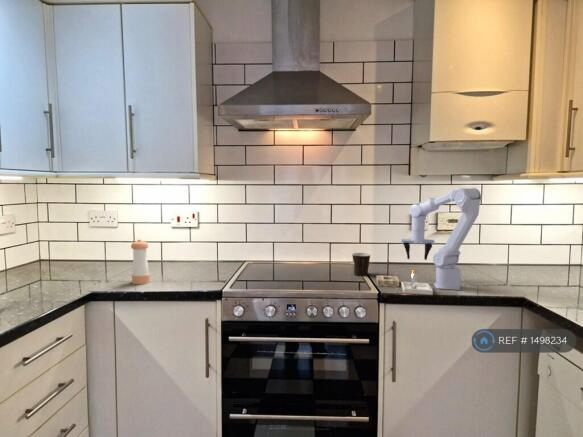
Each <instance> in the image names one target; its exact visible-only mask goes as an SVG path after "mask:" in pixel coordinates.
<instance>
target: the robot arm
mask: <svg viewBox="0 0 583 437" xmlns="http://www.w3.org/2000/svg"><path fill="white" fill-rule="evenodd" d="M482 200H483V197H482V193H481V192H480V190H479V189H478V188H476V187H471V188H466V187H465V188H464V187H457V188H456V189H452V190H451V191H449V192H447V193H444V194H443V195H442V196H439V197H438V198H434V197H428V198H427V200H424V201H420V202H419V204H418V203H417V204H415V203H413V204H412V205H411V206H410V207H409V214H410V216H411V233H410V234H411V238H401V239H400V243H401V245H402V244H403V247H404V249H405V252H406V258H407V260H410V258H411V257H410V250H411V244H413V245H424V260H425V261H427V260H428V256H429V254H430V251H431V250H432V248H433V245H434V246H435V239H426V238H425V232H426V231H425V226H426V220H427V216H428V214H430V213H433V212H436V211H438V210H439V208H440V206H444V205H446V204H448V203H451V202H454V203H455V204H456V206H457V207H458V209H459V210H460V211H461V215H460V217H459V219H458V221H457V222H456V223H455V224H456V225H455V226H454V228H453V230H452V232H451V234H450V235H449V237H448V240H447V241H446V243H445V244H444V245H443V246H442V247H441V246H440V248H439V249H438V251H437V252H435V253H434V254H433V257H432V262H433V264H434V265H435V267H436V268H435V271H436V273H435V282H433V286H434V287H435V288H436V289H437V290H439V289H440V290H455V291H457V290H458V291H460V290H461V275H462V274H461V269H460V267H458V266H456V265H457V264H458V263H459V259H460V258H459V257H460V255H461V251H460V250H459V249H460V247H461V246H462V244H463V242H464V241H465V239H466V237H467V235H468V234H469V232H470V230H471V229H472V227H473V225H474V224H475V221H476V220H477V218H478V216H479V212H480V204H481V202H482Z"/></svg>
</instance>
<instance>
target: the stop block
mask: <svg viewBox="0 0 583 437" xmlns="http://www.w3.org/2000/svg"><path fill="white" fill-rule="evenodd" d="M376 285H377V286H378V287H392V288H393V287H394V288H399V287H400V280H399V278H398V276H395V275H381V274H379V275H376Z"/></svg>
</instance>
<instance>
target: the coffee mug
mask: <svg viewBox="0 0 583 437" xmlns="http://www.w3.org/2000/svg"><path fill="white" fill-rule="evenodd" d="M370 260H371V254H370V253H366V252H354V253H352V266H353V275H354V276H357V275H358V276H357V277H366V275H367V276H368V272H369V266H370Z"/></svg>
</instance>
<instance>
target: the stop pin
mask: <svg viewBox="0 0 583 437" xmlns="http://www.w3.org/2000/svg"><path fill="white" fill-rule="evenodd" d="M418 273H419V272H418V269H412V270H411V272H410V274H411V275H410V276H411V278H410V282H411V289H417V283H418V275H419V274H418Z"/></svg>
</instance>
